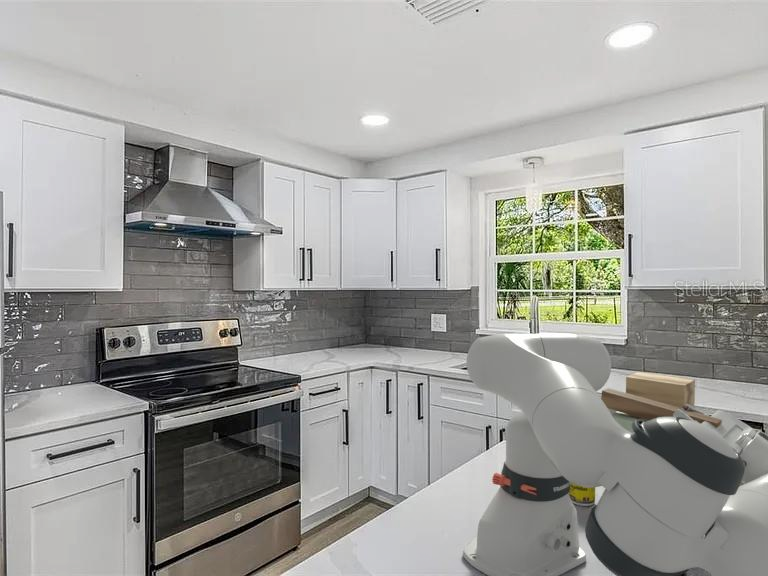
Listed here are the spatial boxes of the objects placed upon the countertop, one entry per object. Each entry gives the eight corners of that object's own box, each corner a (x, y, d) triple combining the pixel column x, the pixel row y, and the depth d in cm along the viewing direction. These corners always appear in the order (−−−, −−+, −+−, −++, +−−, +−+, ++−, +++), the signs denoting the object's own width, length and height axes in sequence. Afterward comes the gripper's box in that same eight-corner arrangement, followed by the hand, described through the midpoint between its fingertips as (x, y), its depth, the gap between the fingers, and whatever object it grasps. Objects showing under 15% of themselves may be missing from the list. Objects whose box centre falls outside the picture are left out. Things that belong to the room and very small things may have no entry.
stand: (682, 504, 107) (684, 385, 107) (624, 487, 116) (626, 376, 115) (692, 493, 113) (694, 379, 112) (636, 477, 122) (638, 371, 121)
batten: (714, 440, 95) (717, 423, 95) (600, 405, 111) (602, 390, 111) (719, 436, 98) (722, 419, 97) (606, 402, 113) (608, 388, 113)
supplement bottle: (563, 501, 109) (564, 455, 109) (573, 493, 113) (574, 448, 113) (589, 510, 105) (590, 462, 105) (599, 501, 109) (599, 455, 109)
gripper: (726, 487, 87) (653, 432, 95) (750, 456, 101) (684, 411, 109) (749, 461, 84) (672, 407, 93) (770, 434, 99) (702, 389, 107)
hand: (679, 409), depth 101 cm, fingers closed on batten, 3 cm apart
